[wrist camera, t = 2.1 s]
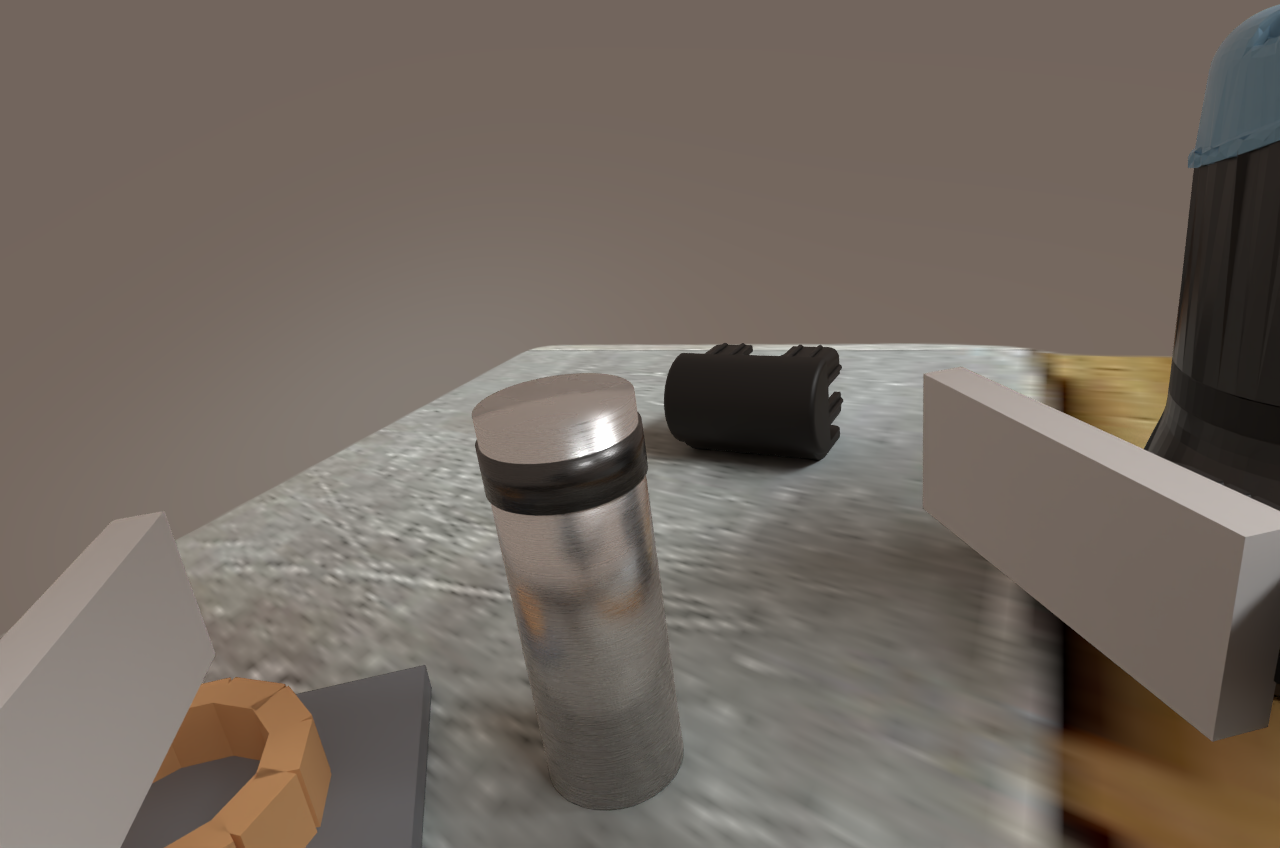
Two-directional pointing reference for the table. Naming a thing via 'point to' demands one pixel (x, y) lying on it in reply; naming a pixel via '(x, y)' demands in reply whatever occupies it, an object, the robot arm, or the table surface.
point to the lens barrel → (584, 581)
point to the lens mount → (294, 767)
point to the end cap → (755, 401)
